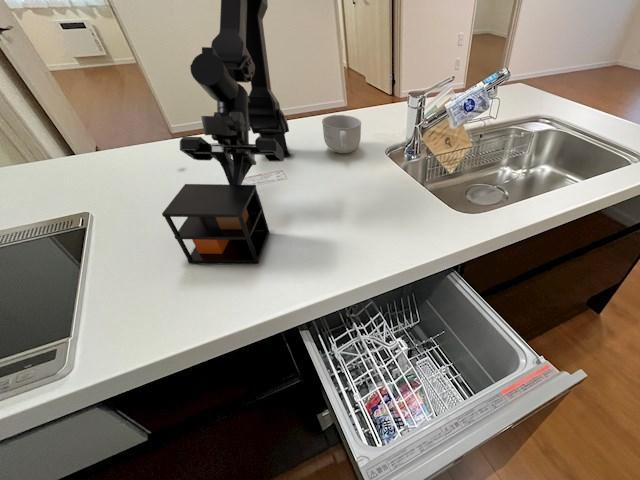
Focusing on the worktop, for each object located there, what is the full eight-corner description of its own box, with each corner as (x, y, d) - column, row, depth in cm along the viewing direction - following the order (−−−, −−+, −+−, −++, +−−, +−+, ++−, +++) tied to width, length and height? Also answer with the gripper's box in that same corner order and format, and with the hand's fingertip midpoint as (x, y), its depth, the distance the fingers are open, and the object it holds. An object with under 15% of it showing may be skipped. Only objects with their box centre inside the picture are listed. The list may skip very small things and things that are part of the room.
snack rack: (207, 232, 72) (185, 183, 64) (269, 232, 73) (255, 184, 65) (188, 263, 66) (161, 213, 58) (258, 263, 66) (240, 214, 58)
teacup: (328, 140, 105) (325, 112, 100) (364, 142, 106) (362, 114, 100) (320, 161, 96) (316, 131, 90) (359, 163, 96) (357, 133, 90)
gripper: (160, 91, 62) (162, 179, 62) (266, 93, 63) (267, 180, 63) (194, 120, 73) (196, 195, 73) (283, 122, 74) (284, 196, 74)
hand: (234, 191), depth 71 cm, fingers closed
